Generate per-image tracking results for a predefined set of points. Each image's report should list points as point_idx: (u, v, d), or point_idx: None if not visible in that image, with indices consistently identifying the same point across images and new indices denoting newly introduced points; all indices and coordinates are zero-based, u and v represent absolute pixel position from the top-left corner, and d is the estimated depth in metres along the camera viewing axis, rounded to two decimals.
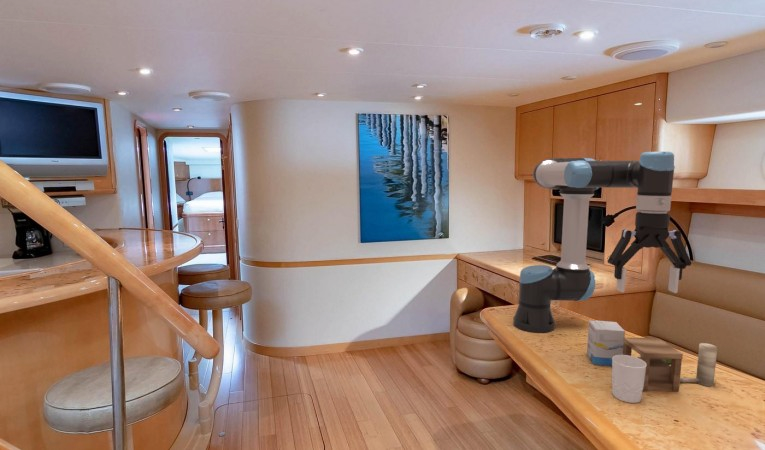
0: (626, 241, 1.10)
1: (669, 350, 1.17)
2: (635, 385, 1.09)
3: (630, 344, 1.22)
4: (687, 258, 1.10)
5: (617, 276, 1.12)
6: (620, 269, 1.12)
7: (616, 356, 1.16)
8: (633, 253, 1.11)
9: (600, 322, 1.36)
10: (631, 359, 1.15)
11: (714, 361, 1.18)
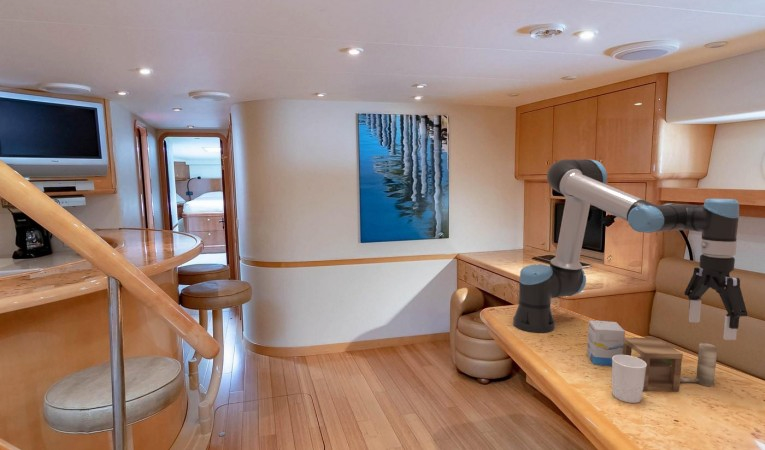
0: (693, 276, 1.24)
1: (669, 350, 1.17)
2: (635, 385, 1.09)
3: (630, 344, 1.22)
4: (734, 308, 1.09)
5: (689, 307, 1.26)
6: None
7: (616, 356, 1.16)
8: (697, 289, 1.22)
9: (600, 322, 1.36)
10: (631, 359, 1.15)
11: (714, 361, 1.18)
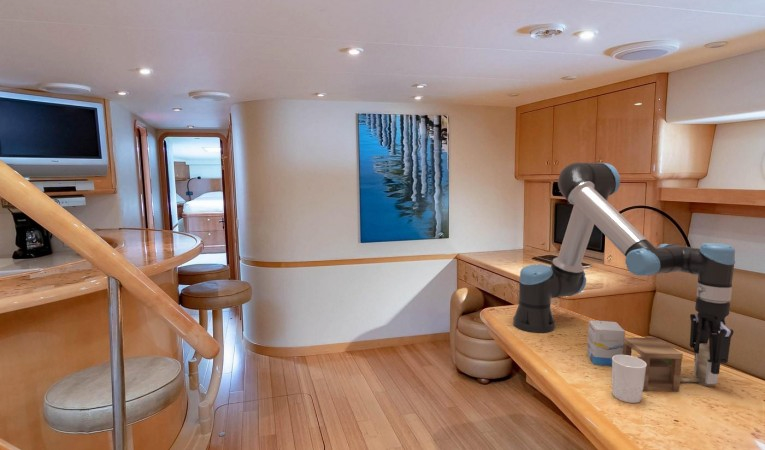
0: (692, 324, 1.24)
1: (669, 350, 1.17)
2: (635, 385, 1.09)
3: (630, 344, 1.22)
4: (717, 356, 1.14)
5: None
6: None
7: (616, 356, 1.16)
8: (698, 337, 1.21)
9: (600, 322, 1.36)
10: (631, 359, 1.15)
11: None
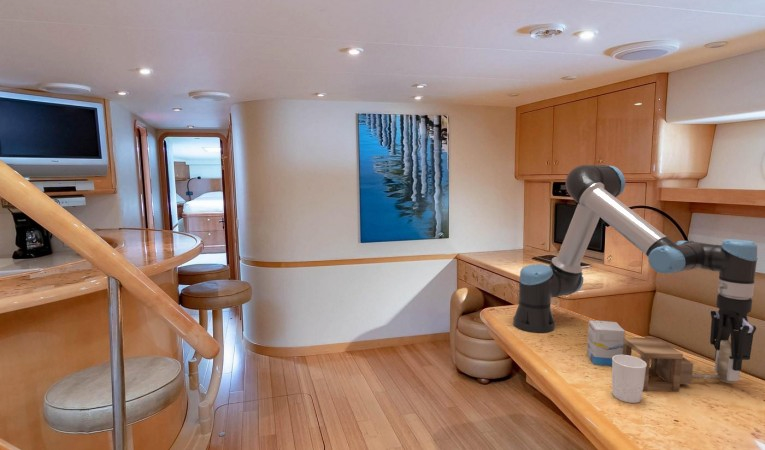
0: (712, 321, 1.24)
1: (669, 350, 1.17)
2: (635, 385, 1.09)
3: (630, 344, 1.22)
4: (740, 352, 1.14)
5: (715, 356, 1.23)
6: None
7: (616, 356, 1.16)
8: (719, 334, 1.21)
9: (600, 322, 1.36)
10: (631, 359, 1.15)
11: None
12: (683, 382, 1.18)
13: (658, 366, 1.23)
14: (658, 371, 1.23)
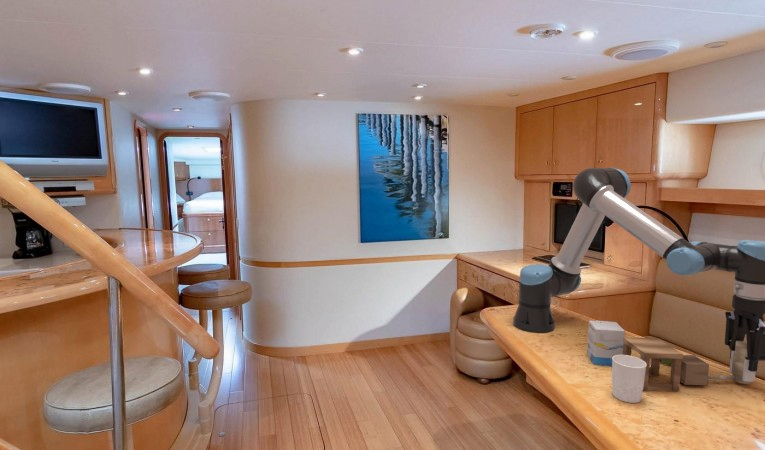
0: (727, 321, 1.24)
1: (669, 350, 1.17)
2: (635, 385, 1.09)
3: (630, 344, 1.22)
4: (756, 353, 1.14)
5: (730, 357, 1.23)
6: None
7: (616, 356, 1.16)
8: (735, 335, 1.21)
9: (600, 322, 1.36)
10: (631, 359, 1.15)
11: None
12: (699, 383, 1.18)
13: None
14: None
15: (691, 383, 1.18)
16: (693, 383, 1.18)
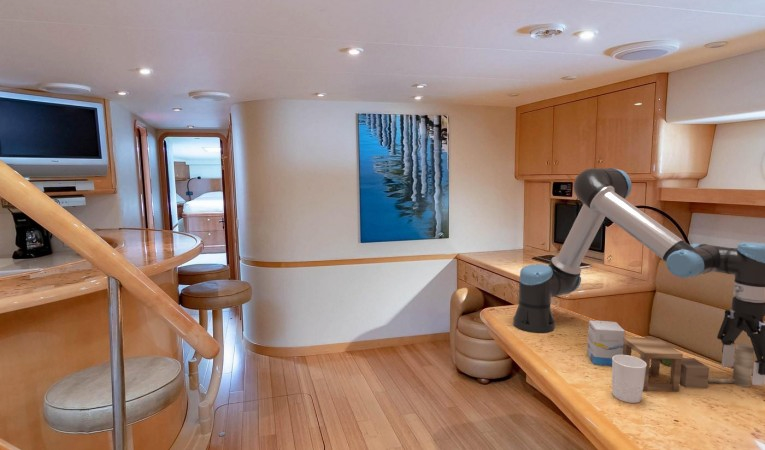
0: (725, 319, 1.25)
1: (669, 350, 1.17)
2: (635, 385, 1.09)
3: (630, 344, 1.22)
4: None
5: (722, 351, 1.26)
6: None
7: (616, 356, 1.16)
8: (730, 332, 1.23)
9: (600, 322, 1.36)
10: (631, 359, 1.15)
11: (751, 362, 1.18)
12: (699, 386, 1.18)
13: None
14: None
15: (691, 386, 1.18)
16: (693, 386, 1.18)
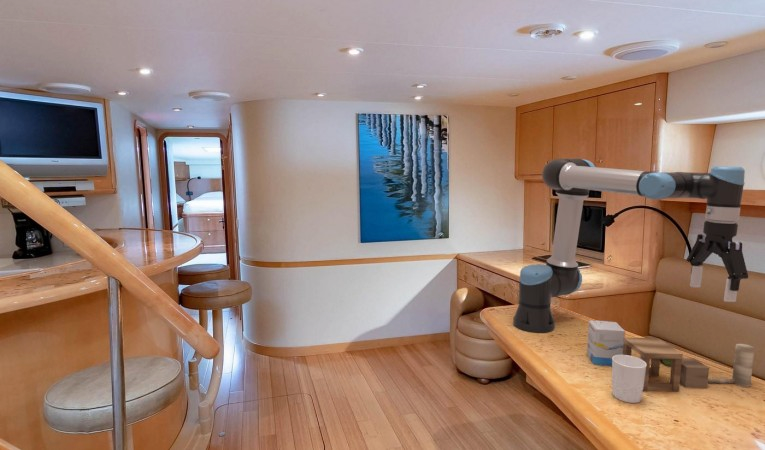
0: (696, 243, 1.28)
1: (669, 350, 1.17)
2: (635, 385, 1.09)
3: (630, 344, 1.22)
4: (736, 270, 1.13)
5: (691, 272, 1.31)
6: None
7: (616, 356, 1.16)
8: (700, 255, 1.26)
9: (600, 322, 1.36)
10: (631, 359, 1.15)
11: (751, 362, 1.18)
12: (699, 386, 1.18)
13: None
14: None
15: (691, 386, 1.18)
16: (693, 386, 1.18)
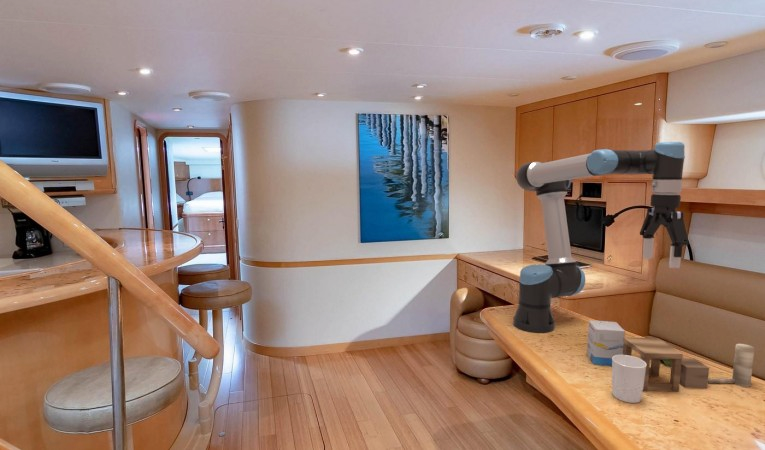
0: (646, 216, 1.36)
1: (669, 350, 1.17)
2: (635, 385, 1.09)
3: (630, 344, 1.22)
4: (677, 237, 1.21)
5: (644, 245, 1.39)
6: None
7: (616, 356, 1.16)
8: (649, 227, 1.34)
9: (600, 322, 1.36)
10: (631, 359, 1.15)
11: (751, 362, 1.18)
12: (699, 386, 1.18)
13: None
14: None
15: (691, 386, 1.18)
16: (693, 386, 1.18)
